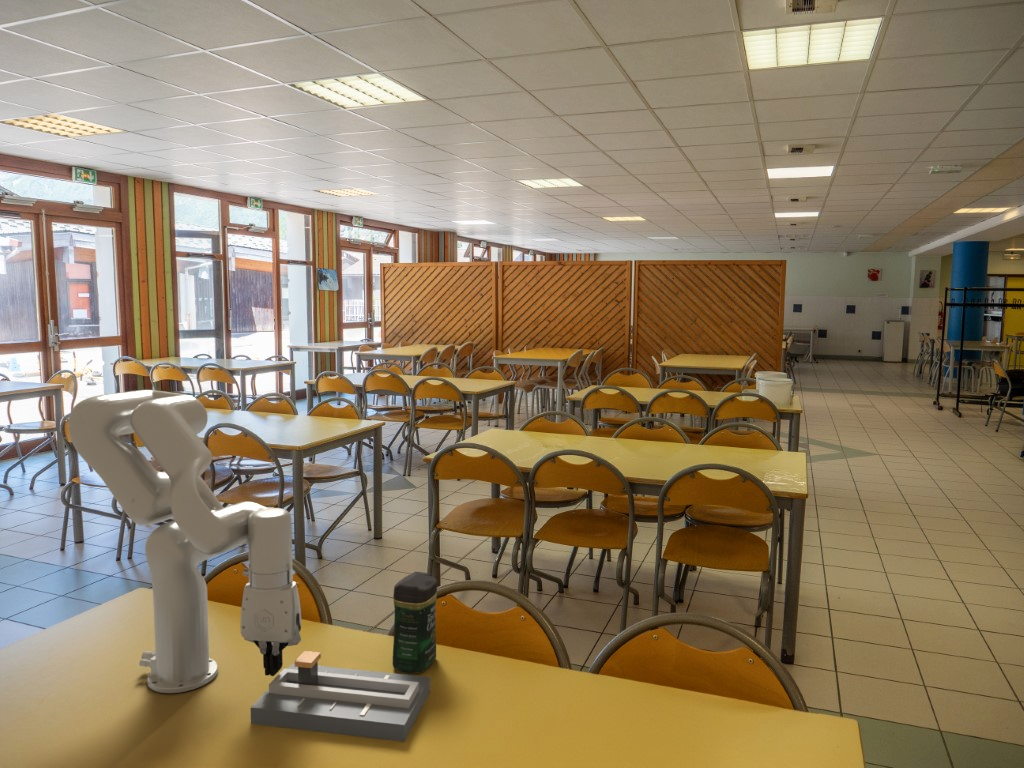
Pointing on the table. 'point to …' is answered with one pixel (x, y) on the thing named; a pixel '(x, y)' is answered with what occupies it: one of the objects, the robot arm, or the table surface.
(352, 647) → the table surface
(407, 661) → the coffee jar
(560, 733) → the table surface
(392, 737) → the console
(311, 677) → the fader
